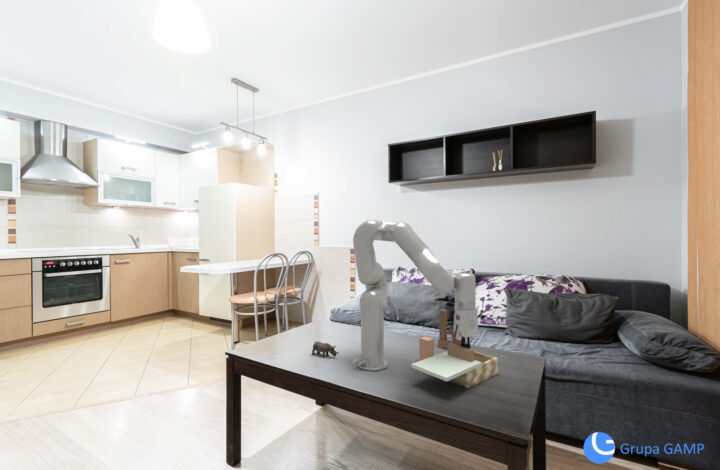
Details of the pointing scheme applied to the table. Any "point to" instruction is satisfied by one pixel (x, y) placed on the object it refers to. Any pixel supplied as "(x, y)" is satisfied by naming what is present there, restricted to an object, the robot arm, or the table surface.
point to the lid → (449, 363)
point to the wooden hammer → (445, 331)
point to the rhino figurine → (324, 349)
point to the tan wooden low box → (478, 371)
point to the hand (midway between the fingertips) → (465, 353)
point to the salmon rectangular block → (426, 348)
